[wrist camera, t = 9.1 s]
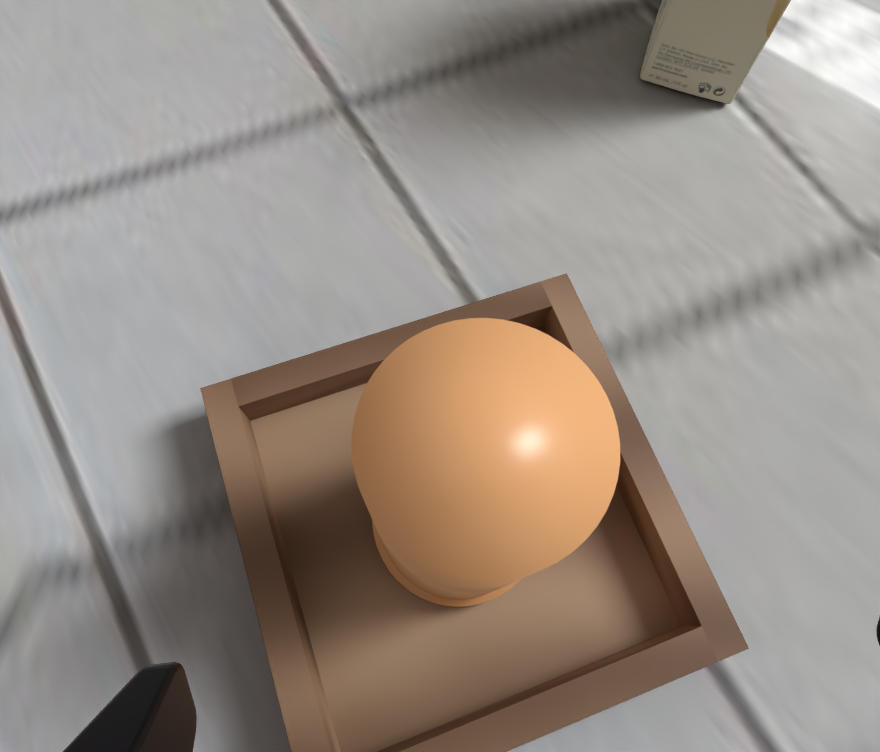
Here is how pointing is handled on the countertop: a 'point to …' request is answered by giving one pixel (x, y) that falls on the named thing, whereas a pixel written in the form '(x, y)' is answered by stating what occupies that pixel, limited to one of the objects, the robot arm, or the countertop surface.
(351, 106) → the countertop surface
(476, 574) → the peach dome-topped cylinder
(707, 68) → the skincare box
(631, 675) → the walnut tray
